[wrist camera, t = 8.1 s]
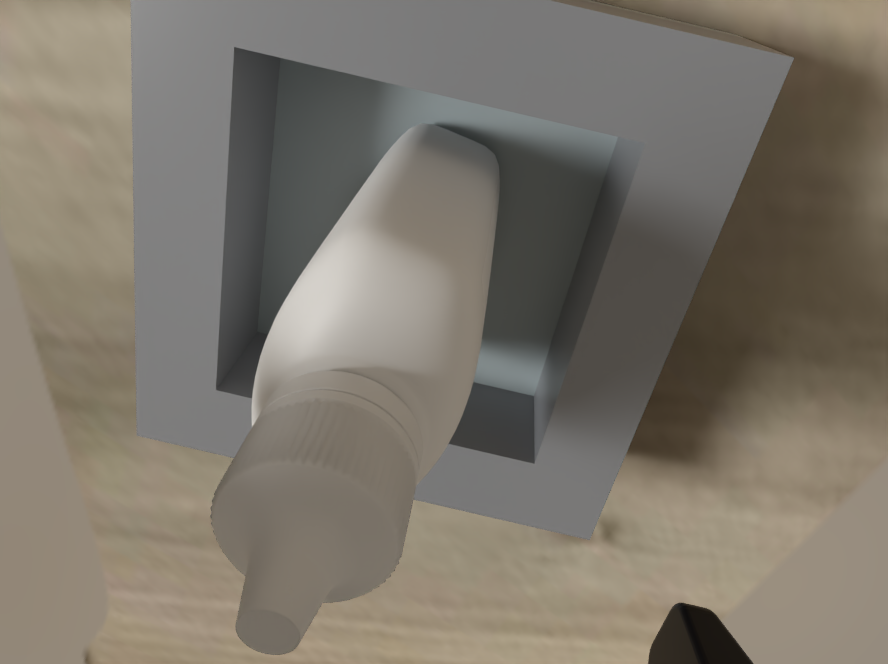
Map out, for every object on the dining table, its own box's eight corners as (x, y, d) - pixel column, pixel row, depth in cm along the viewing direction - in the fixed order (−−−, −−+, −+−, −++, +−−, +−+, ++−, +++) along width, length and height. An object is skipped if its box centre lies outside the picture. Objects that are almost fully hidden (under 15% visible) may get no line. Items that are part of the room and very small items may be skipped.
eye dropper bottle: (562, 233, 18) (612, 656, 7) (395, 349, 20) (243, 809, 9) (450, 90, 16) (307, 349, 6) (284, 232, 18) (-43, 611, 8)
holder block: (579, 445, 22) (589, 540, 18) (200, 357, 22) (136, 435, 18) (735, 34, 16) (794, 57, 12) (217, -88, 16) (129, -99, 12)
